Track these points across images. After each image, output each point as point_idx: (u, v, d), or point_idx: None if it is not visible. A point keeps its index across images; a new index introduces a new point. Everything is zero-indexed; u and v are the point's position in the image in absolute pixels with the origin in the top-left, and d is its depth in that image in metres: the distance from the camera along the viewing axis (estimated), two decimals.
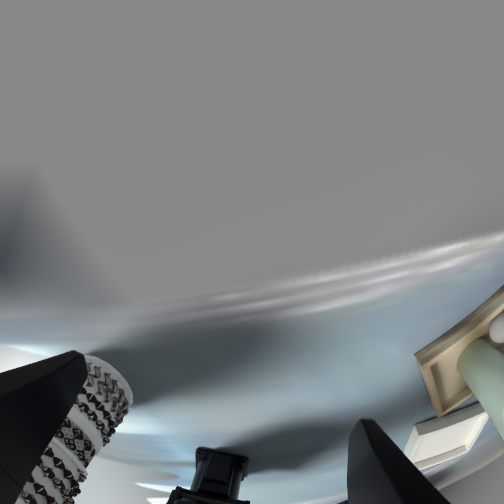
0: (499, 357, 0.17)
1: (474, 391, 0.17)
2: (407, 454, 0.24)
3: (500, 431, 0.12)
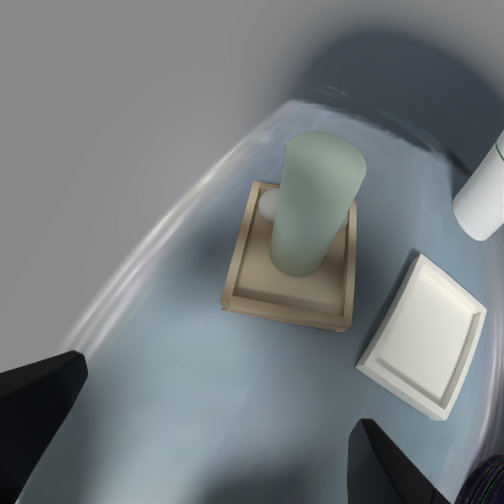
0: None
1: (297, 250, 0.19)
2: (404, 396, 0.18)
3: (318, 198, 0.14)
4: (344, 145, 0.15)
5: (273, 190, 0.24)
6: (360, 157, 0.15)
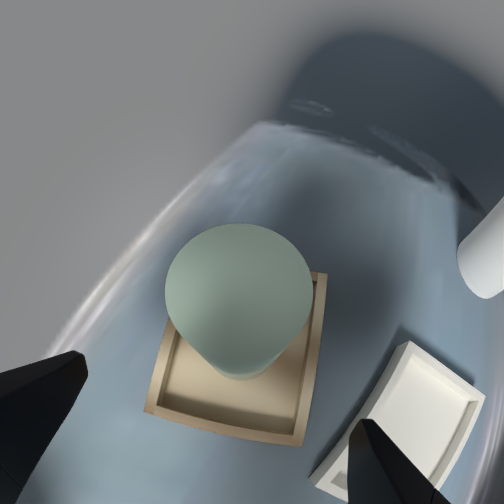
0: None
1: (224, 373, 0.13)
2: None
3: (218, 361, 0.08)
4: (279, 251, 0.09)
5: None
6: (304, 276, 0.09)
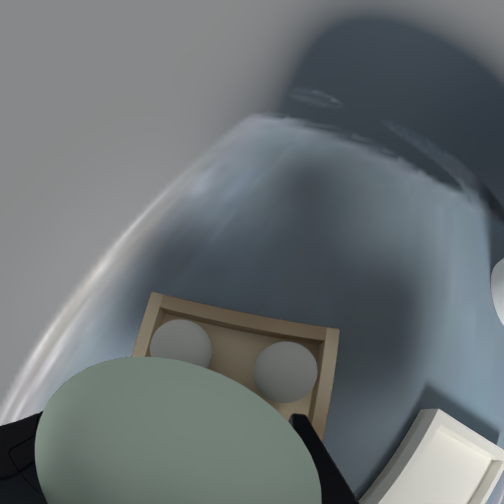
0: None
1: None
2: None
3: None
4: (249, 436, 0.03)
5: (169, 332, 0.12)
6: (306, 489, 0.03)
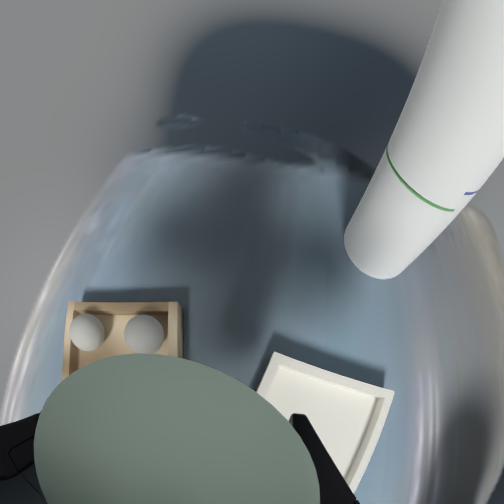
0: None
1: None
2: None
3: None
4: (247, 433, 0.03)
5: (75, 321, 0.18)
6: (304, 486, 0.03)
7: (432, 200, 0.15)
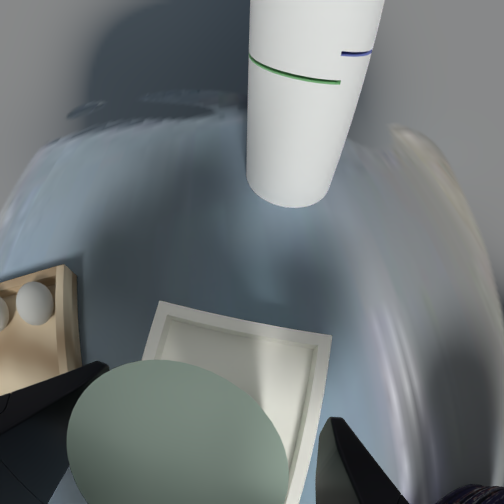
0: None
1: None
2: None
3: None
4: (233, 418, 0.04)
5: None
6: (276, 462, 0.04)
7: (304, 75, 0.12)
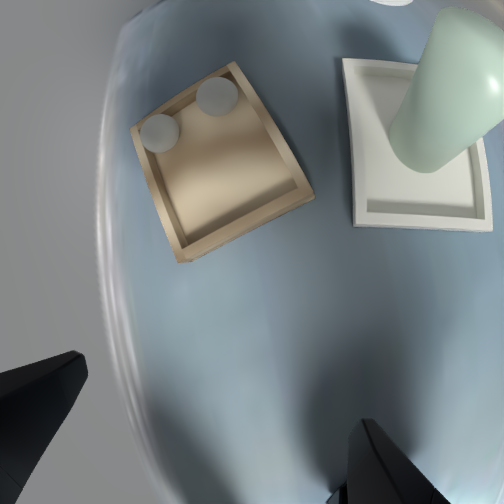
0: None
1: (441, 152, 0.12)
2: (428, 228, 0.15)
3: (494, 106, 0.06)
4: (494, 29, 0.05)
5: (143, 125, 0.18)
6: None
7: None
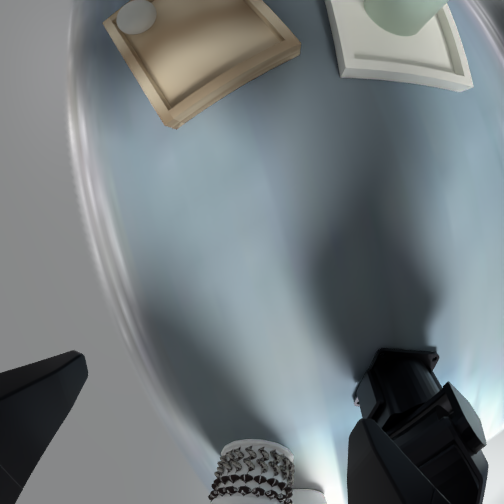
0: None
1: (417, 8, 0.09)
2: (413, 77, 0.14)
3: None
4: None
5: (121, 10, 0.12)
6: None
7: None
